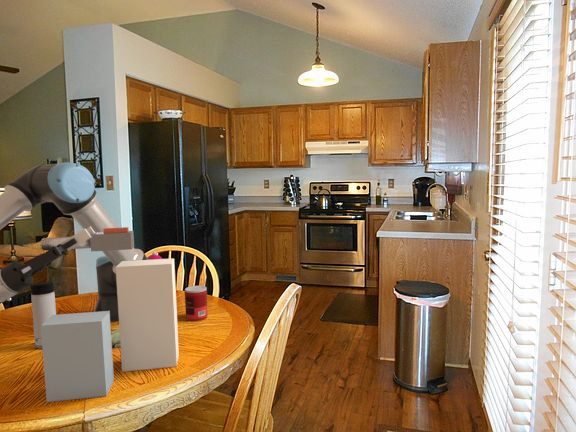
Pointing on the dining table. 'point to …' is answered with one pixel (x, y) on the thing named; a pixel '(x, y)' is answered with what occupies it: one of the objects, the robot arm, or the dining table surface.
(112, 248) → the grey piece
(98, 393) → the low stand
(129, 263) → the tall stand
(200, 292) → the canned food
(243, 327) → the dining table surface
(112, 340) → the washcloth
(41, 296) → the travel mug
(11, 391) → the dining table surface
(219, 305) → the dining table surface
